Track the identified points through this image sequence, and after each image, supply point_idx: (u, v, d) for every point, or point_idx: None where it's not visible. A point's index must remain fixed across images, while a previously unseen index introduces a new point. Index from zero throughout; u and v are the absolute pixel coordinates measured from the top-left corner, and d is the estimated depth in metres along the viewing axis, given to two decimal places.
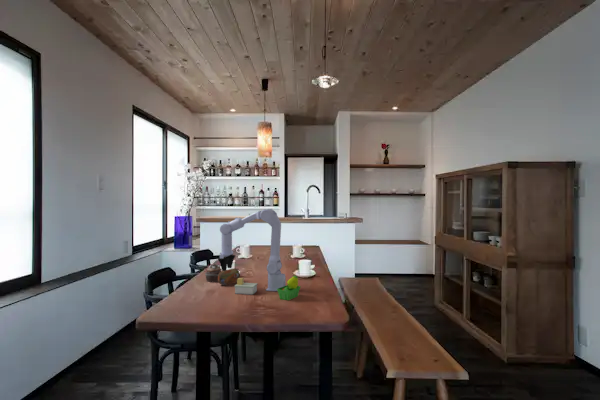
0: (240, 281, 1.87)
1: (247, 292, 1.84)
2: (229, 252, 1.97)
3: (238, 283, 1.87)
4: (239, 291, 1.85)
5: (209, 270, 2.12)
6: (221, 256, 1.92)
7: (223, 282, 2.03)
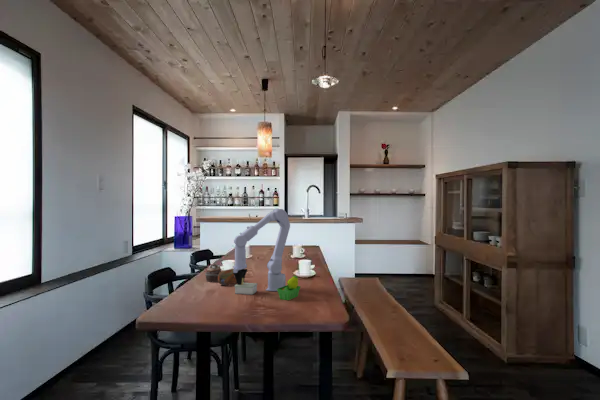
0: None
1: (247, 292, 1.84)
2: (243, 266, 1.86)
3: None
4: (239, 291, 1.85)
5: (209, 270, 2.12)
6: (235, 270, 1.81)
7: (223, 282, 2.03)
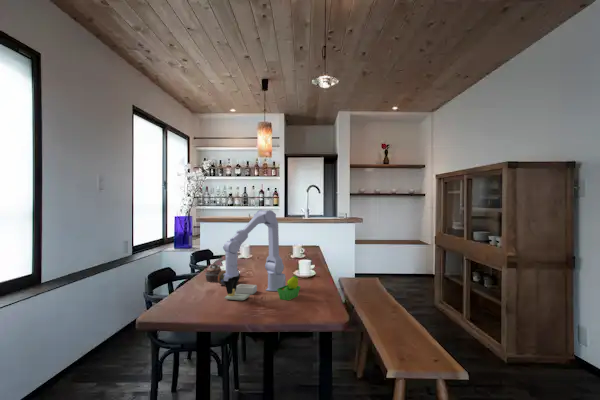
0: None
1: (247, 292, 1.84)
2: (234, 273, 1.75)
3: (229, 294, 1.76)
4: (239, 291, 1.85)
5: (209, 270, 2.12)
6: (225, 278, 1.70)
7: (223, 282, 2.03)
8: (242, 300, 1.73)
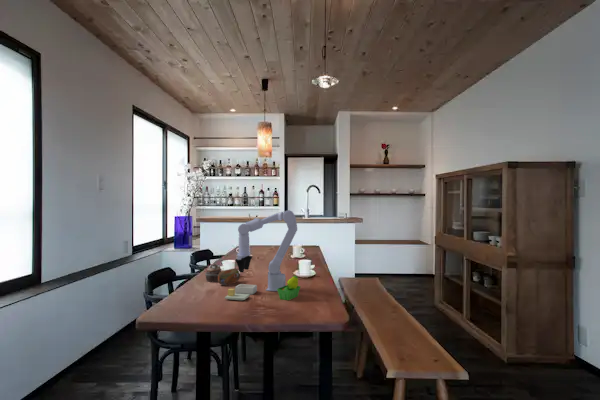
0: (231, 292, 1.75)
1: (247, 292, 1.84)
2: (246, 253, 1.91)
3: (229, 294, 1.76)
4: (239, 291, 1.85)
5: (209, 270, 2.12)
6: (239, 257, 1.86)
7: (223, 282, 2.03)
8: (242, 300, 1.73)
